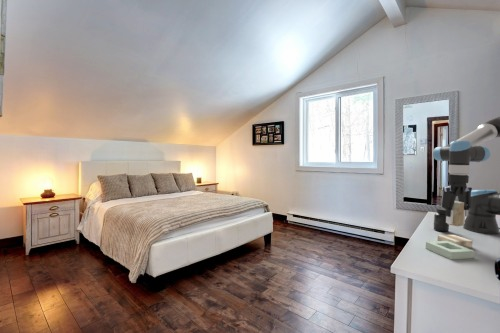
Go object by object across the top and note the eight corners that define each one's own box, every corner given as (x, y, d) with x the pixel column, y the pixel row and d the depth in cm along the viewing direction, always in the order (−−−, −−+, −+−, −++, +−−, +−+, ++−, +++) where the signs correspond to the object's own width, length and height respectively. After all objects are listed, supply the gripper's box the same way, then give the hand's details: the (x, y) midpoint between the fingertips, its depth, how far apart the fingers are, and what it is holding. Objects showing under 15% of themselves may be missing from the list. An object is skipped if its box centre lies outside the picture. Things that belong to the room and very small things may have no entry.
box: (457, 226, 116) (458, 203, 115) (446, 224, 120) (448, 201, 119) (463, 225, 118) (464, 202, 118) (452, 223, 122) (453, 200, 121)
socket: (446, 247, 115) (446, 240, 115) (474, 258, 103) (474, 250, 103) (425, 248, 113) (425, 241, 113) (451, 259, 101) (451, 252, 101)
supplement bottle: (451, 232, 137) (452, 210, 137) (437, 231, 139) (438, 210, 138) (444, 229, 144) (445, 208, 143) (431, 228, 145) (432, 207, 145)
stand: (453, 240, 124) (453, 234, 124) (472, 247, 116) (472, 240, 115) (437, 241, 123) (437, 235, 123) (455, 248, 114) (455, 241, 114)
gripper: (467, 173, 123) (464, 220, 124) (433, 173, 120) (430, 221, 121) (483, 175, 116) (480, 225, 117) (448, 174, 112) (445, 226, 113)
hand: (455, 223), depth 119 cm, fingers closed on box, 6 cm apart
